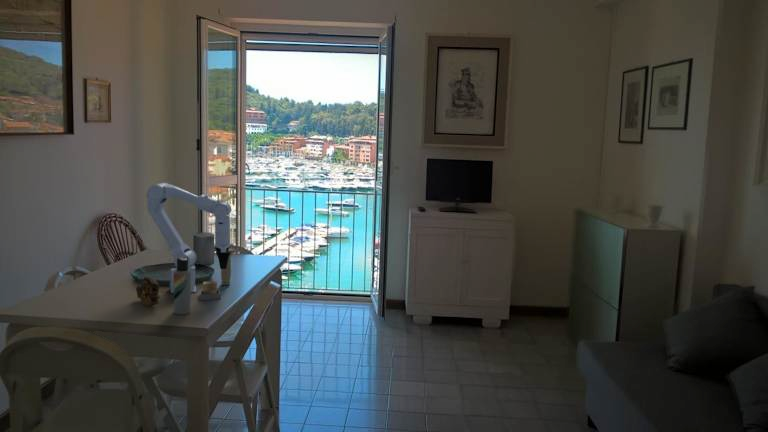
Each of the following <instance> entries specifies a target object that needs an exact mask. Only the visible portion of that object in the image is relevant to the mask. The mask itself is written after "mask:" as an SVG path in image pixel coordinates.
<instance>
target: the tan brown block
mask: <svg viewBox="0 0 768 432" xmlns="http://www.w3.org/2000/svg"><path fill="white" fill-rule="evenodd" d="M217 290H218V282H217V281H203V282H202V291H203V294H217Z"/></svg>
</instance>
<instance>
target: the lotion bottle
mask: <svg viewBox="0 0 768 432" xmlns="http://www.w3.org/2000/svg"><path fill="white" fill-rule="evenodd" d="M191 296H192V292H191V271H190V270H188V258H187V257H178V259H177V270H175V271H174V293H173V314H174V313H175V314H174V315H177V314H179V316H182V314H185V315H188V313H189V314H190V313H191V307H192V306H191V300H192V299H191Z"/></svg>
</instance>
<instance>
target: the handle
mask: <svg viewBox="0 0 768 432" xmlns="http://www.w3.org/2000/svg"><path fill="white" fill-rule="evenodd" d="M228 252H231V253H230V255H229V258H228V262H227V267H226V269H220V270H221V272H220V275H221V276H220V277H221V278H220V279H221V285H223V286H229V285H231V278H232V277H231V276H232V264H231V263H232V262H231V261H232V260H231V256H232V255H233V254H234V253H235V249H234V248H230V247H229V250H228Z"/></svg>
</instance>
